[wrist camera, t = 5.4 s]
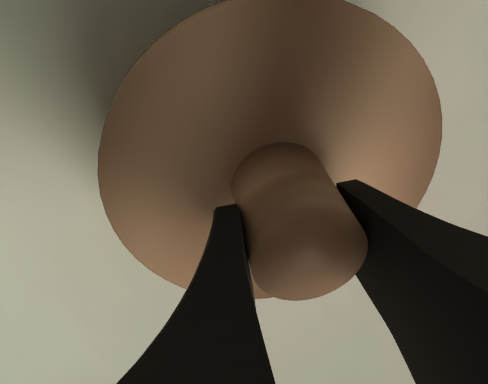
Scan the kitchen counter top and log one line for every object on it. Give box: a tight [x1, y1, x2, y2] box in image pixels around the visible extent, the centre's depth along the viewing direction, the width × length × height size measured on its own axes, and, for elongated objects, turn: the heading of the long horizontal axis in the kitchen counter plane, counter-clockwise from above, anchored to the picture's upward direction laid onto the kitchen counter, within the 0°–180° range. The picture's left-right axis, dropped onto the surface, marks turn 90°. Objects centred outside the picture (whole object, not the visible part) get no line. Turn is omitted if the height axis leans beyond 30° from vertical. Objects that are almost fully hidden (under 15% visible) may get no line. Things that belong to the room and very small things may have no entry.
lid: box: [98, 0, 442, 301], centre depth 12 cm, size 11×11×4 cm
